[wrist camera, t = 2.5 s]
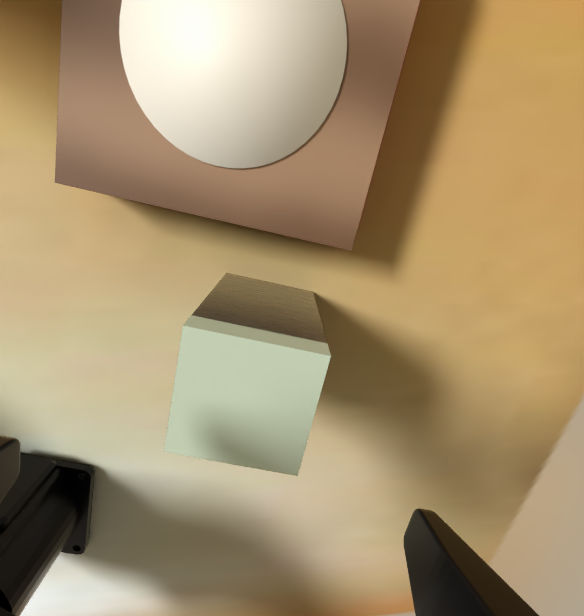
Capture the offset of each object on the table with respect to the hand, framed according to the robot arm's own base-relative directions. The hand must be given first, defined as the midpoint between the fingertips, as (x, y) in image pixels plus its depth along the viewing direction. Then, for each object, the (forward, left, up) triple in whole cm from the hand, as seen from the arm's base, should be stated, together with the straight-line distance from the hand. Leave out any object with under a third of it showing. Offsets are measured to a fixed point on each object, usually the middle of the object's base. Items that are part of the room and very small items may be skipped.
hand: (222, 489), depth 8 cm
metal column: (0, 0, -11) cm, 11 cm away
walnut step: (+11, +3, -11) cm, 16 cm away
